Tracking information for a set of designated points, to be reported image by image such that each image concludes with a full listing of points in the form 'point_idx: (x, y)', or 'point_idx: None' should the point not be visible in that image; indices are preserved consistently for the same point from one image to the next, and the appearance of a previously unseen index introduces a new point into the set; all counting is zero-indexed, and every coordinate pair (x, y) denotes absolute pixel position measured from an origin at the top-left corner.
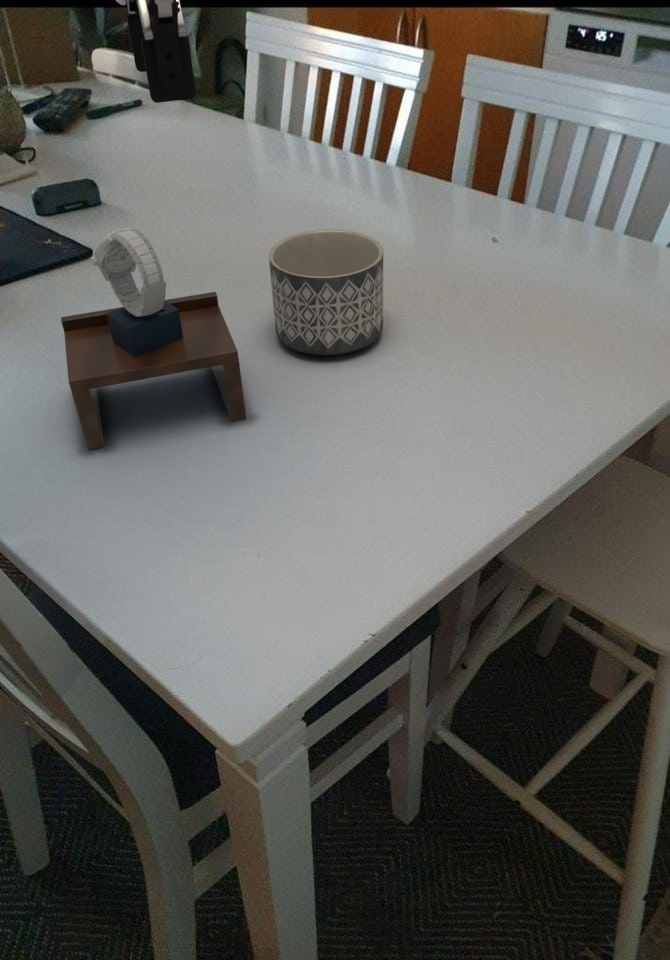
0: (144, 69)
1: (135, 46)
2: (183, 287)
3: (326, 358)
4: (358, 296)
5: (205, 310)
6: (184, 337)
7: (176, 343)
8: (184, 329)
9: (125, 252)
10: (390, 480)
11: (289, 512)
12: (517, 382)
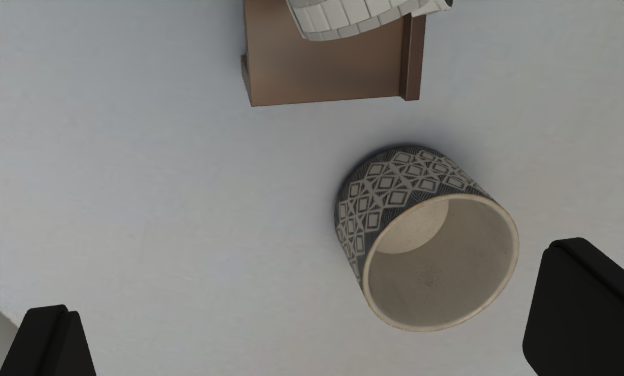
0: (543, 264)
1: (604, 302)
2: (614, 35)
3: None
4: (355, 275)
5: (391, 74)
6: None
7: None
8: None
9: None
10: (79, 213)
11: (32, 97)
12: (232, 358)
